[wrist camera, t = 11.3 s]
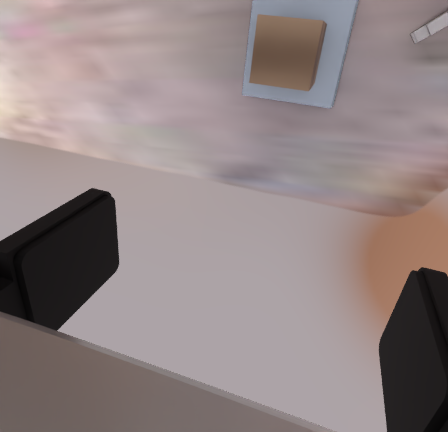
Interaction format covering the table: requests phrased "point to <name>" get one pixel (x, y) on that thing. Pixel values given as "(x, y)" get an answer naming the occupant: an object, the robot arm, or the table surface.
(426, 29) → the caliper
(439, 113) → the table surface
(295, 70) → the walnut block
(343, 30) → the base block
